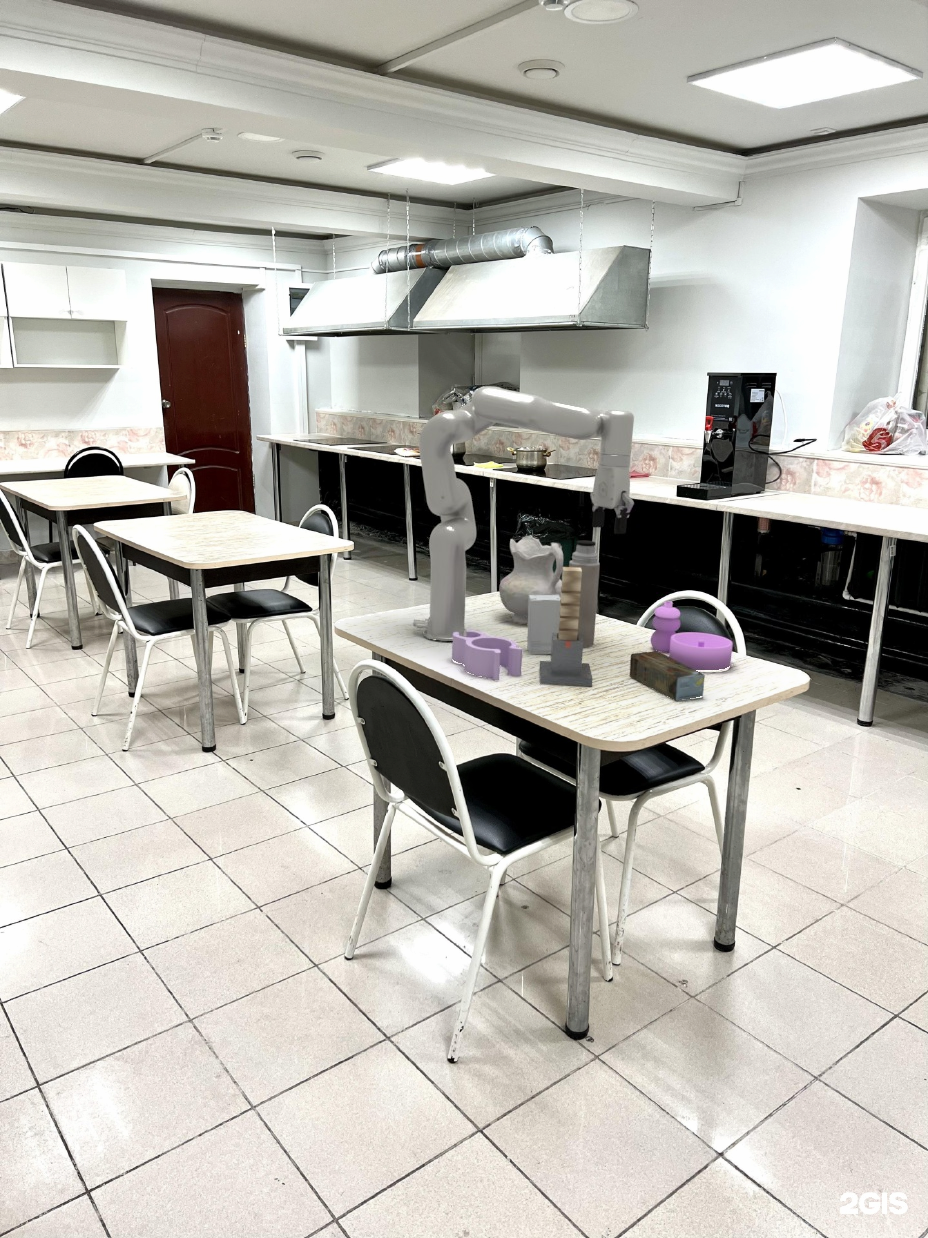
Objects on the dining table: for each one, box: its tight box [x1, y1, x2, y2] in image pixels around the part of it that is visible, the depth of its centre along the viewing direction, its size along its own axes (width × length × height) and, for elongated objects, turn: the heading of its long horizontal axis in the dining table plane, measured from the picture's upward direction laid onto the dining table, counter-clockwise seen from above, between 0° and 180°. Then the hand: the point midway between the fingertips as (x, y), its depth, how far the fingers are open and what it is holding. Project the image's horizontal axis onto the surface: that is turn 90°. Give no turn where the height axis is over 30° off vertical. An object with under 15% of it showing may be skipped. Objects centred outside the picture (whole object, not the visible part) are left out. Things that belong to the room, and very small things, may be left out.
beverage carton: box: [629, 650, 706, 702], centre depth 212 cm, size 8×19×7 cm, turn 23°
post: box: [558, 566, 582, 640], centre depth 213 cm, size 4×4×24 cm
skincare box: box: [526, 595, 561, 655], centre depth 236 cm, size 8×6×15 cm
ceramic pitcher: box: [498, 535, 564, 625], centre depth 266 cm, size 22×20×25 cm
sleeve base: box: [538, 632, 594, 688], centre depth 216 cm, size 12×12×10 cm
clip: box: [451, 629, 523, 681], centre depth 222 cm, size 20×12×7 cm, turn 35°
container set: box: [650, 600, 734, 670], centre depth 235 cm, size 25×15×13 cm, turn 28°
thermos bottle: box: [568, 540, 600, 648], centre depth 243 cm, size 8×8×28 cm
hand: (608, 530), depth 230 cm, fingers open, 9 cm apart
